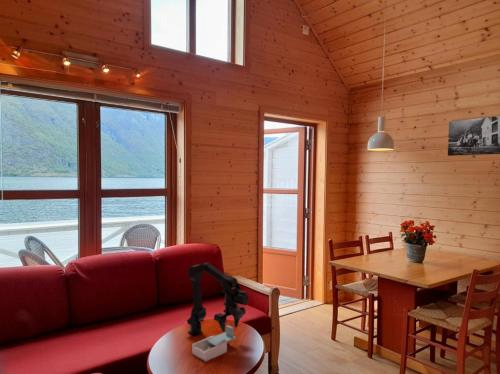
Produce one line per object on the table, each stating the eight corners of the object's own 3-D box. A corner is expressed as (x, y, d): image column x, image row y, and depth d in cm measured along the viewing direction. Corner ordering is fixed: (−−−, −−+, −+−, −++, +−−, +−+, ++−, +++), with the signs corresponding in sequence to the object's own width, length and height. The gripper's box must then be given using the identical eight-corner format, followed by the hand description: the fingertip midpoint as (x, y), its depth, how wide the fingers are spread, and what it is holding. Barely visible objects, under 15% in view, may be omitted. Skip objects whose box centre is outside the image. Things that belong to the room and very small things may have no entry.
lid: (205, 341, 185) (206, 331, 185) (225, 333, 195) (225, 324, 195) (216, 346, 179) (216, 337, 179) (236, 338, 189) (236, 328, 189)
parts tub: (192, 353, 180) (192, 343, 180) (213, 344, 191) (213, 335, 190) (205, 361, 173) (205, 351, 173) (226, 351, 183) (226, 342, 183)
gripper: (227, 309, 179) (227, 340, 179) (252, 300, 192) (252, 329, 192) (213, 304, 186) (213, 333, 187) (238, 295, 200) (238, 323, 200)
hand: (229, 329), depth 191 cm, fingers open, 9 cm apart
